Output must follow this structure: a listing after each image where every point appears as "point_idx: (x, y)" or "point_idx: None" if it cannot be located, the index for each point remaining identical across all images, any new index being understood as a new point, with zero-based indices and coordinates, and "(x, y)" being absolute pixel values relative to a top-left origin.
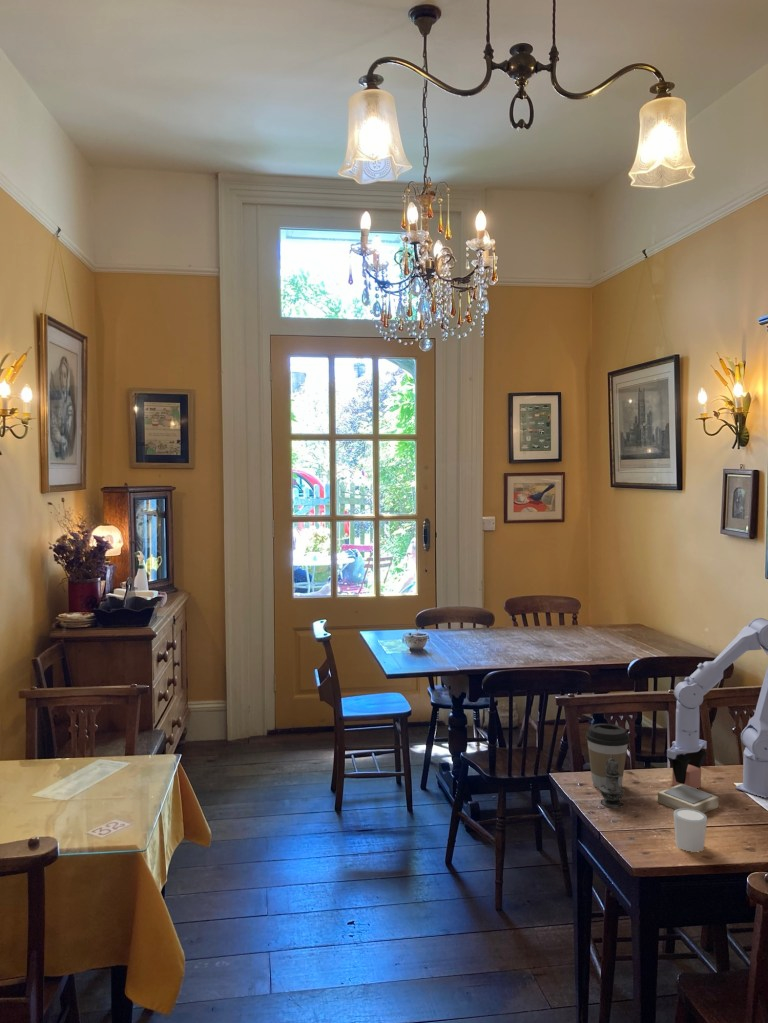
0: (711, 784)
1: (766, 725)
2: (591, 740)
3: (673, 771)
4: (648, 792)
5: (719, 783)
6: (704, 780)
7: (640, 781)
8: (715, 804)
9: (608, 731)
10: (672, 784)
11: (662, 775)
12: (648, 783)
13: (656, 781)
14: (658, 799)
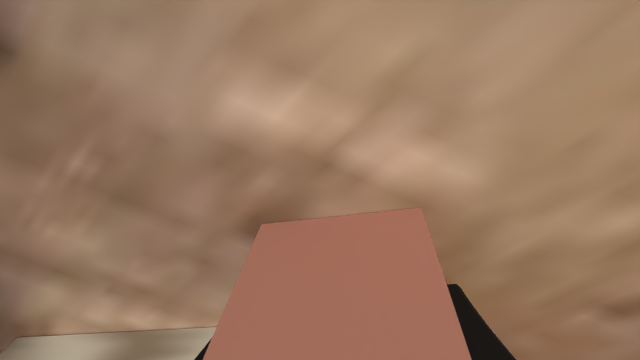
0: (553, 326)
1: None
2: None
3: (223, 329)
4: (15, 234)
5: (626, 338)
6: (596, 265)
7: (31, 43)
8: None
9: None
10: (259, 230)
11: (355, 6)
12: (87, 114)
13: (185, 110)
14: (2, 357)
